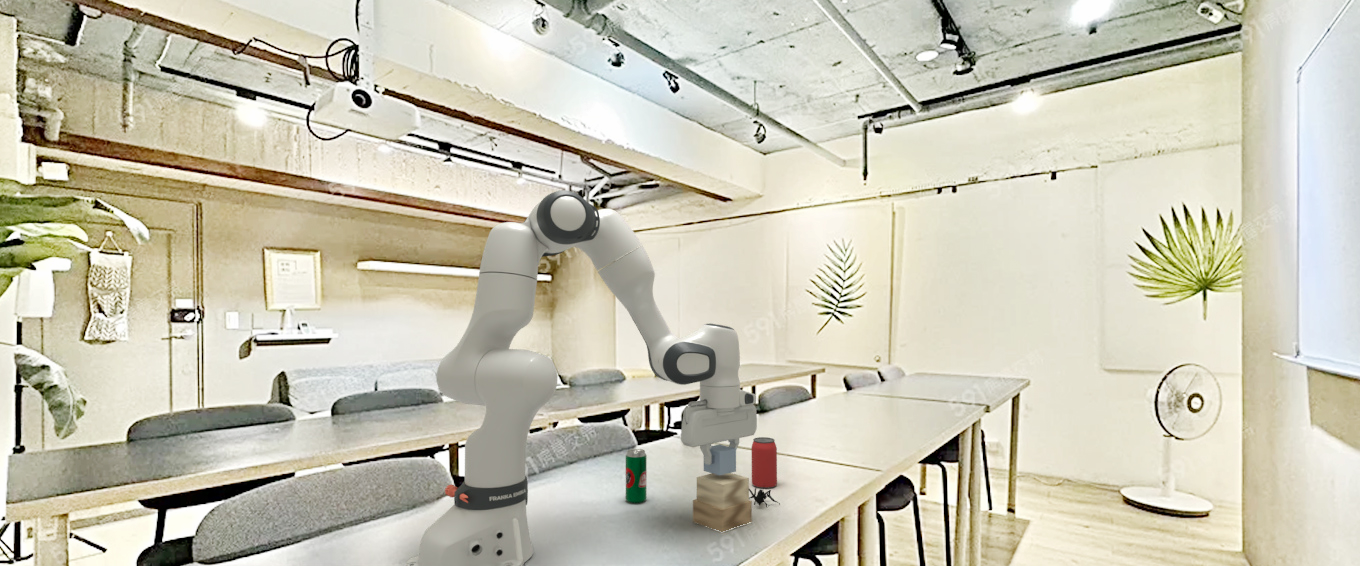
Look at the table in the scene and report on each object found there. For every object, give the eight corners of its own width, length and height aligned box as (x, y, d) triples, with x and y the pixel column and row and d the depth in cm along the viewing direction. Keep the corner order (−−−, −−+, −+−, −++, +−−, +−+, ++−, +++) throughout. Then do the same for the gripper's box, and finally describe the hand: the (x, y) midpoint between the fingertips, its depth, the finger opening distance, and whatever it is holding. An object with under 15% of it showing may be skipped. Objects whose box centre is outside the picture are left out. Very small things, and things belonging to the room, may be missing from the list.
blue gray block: (719, 475, 131) (719, 451, 131) (703, 470, 135) (703, 447, 135) (735, 471, 134) (735, 448, 135) (719, 466, 138) (719, 444, 138)
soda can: (643, 504, 146) (643, 453, 147) (623, 503, 147) (623, 452, 148) (648, 498, 151) (648, 448, 152) (628, 497, 152) (628, 448, 153)
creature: (752, 503, 151) (740, 504, 144) (753, 480, 152) (742, 480, 145) (783, 507, 147) (772, 509, 141) (784, 484, 149) (774, 485, 142)
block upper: (723, 509, 128) (722, 484, 129) (696, 500, 134) (696, 477, 135) (748, 501, 134) (748, 477, 134) (722, 493, 140) (722, 470, 140)
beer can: (747, 483, 163) (746, 438, 164) (768, 480, 166) (767, 435, 167) (760, 490, 157) (760, 443, 158) (782, 487, 160) (781, 440, 161)
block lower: (722, 534, 128) (722, 510, 128) (693, 523, 135) (692, 500, 135) (751, 524, 134) (751, 501, 134) (722, 514, 140) (722, 491, 141)
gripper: (694, 404, 126) (694, 472, 126) (761, 395, 140) (761, 456, 139) (674, 400, 131) (674, 466, 130) (741, 392, 144) (741, 451, 144)
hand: (720, 461), depth 135 cm, fingers closed on blue gray block, 5 cm apart
